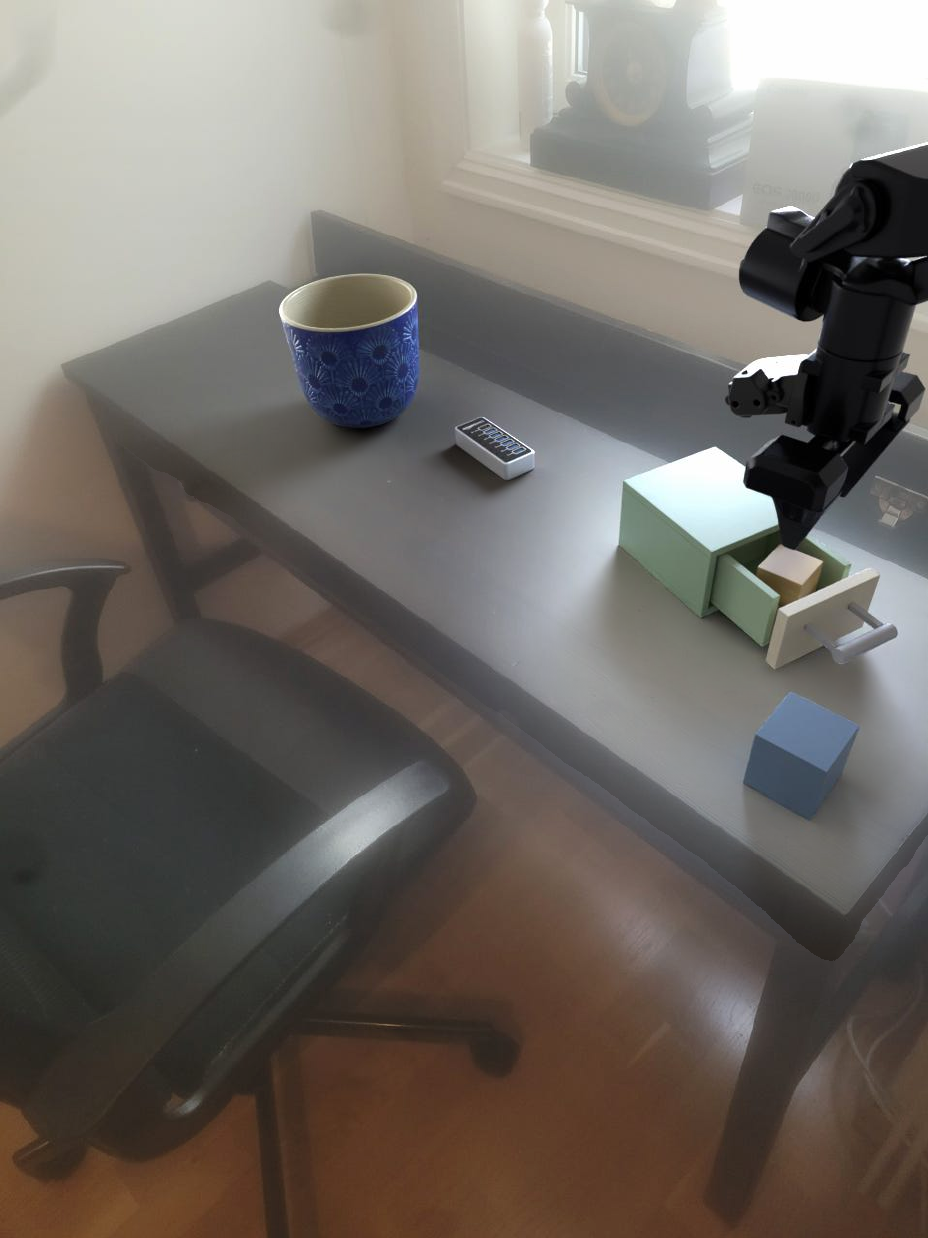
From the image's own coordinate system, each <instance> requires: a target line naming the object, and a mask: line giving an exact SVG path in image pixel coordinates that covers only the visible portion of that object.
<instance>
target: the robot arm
mask: <svg viewBox="0 0 928 1238" xmlns="http://www.w3.org/2000/svg"><path fill="white" fill-rule="evenodd" d="M911 258H916V259H913V260H911ZM738 283H739V287H740V289H741V291H742V293H743V294H744V295H746V297H748V298H751V299H753V300H755V301H757V302H758V303H761V304H763V305H766V306H767V307H770V308H772V309H773V310H775V311H778V312H780V313H783V314H785V315H786V316H789V317H790V318H793V319H795V320H798V321H800V322H803V323H808V322H813V321H816V320H818V319H819V318H822V320H821V327H820V330H819V336H818V339H817V344H816V348H815V350H814V351H812V352H811V353H809V354H795V355H783V356H782V355H781V356H772V357H770V356H769V357H763V358H760V359H757V360H755V361H752V362H751V363H749V364H748V365H747V366H746V367H744V368H743V369H742V370H740V371H739V372H738V373H736V374H735V375H734V376H733V377H732V378H731V382H729V383H728V384H727V388H728V393H727V395H725V398H724V402H725V404H726V405H727V406H729V408H730V409H729V410H730V412H731V413H732V414H734V415H735V416H736V417H740V418H742V419H750V418H751V417H753V416H765V415H766V416H767V415H783V414H785V418H784V424H787V425H788V426H789V425H790V426H792V427H796V428H801V427H802V426H803V427H806V431H807V432H808V433H810V434H811V435H813V437H812V438H811V439H810V440H809V441H808V442H807V441H804V440H800V439H797V438H794V437H791V436H788V435H784V434H780V435H778V436H776V437H774V438H772V439H770V440H768V441H767V442H766V443H765V444H764V445H762V446H761V447H760V448H759V449H758V450H756V451H755V453H753V454H752V456H750V457H749V458H748V459H747V460H746V461H745V472H744V478H743V483H744V485H745V487H746V488H748V489H750V490H753V491H756V492H759V493H761V494H764V495H767V496H770V497H771V498H772V499H773V502H774V505H775V509H776V513H777V519H778V524H779V529H780V535H781V540H782V545H783V546H784V547H786V548H788V549H791V550H796V549H797V548H798V547H799V545H800V544H801V543H802V542H803V540H804V539H805V538H806V537H807V535H808V534H811V531H812V530H814V528H815V527H816V526H817V524H818V523H819V522H820V521H821V519H822V518H823V517H824V516H825V514H826V513H827V512H828V511H829V510H830V509H831V507H832V506H833V504H835V503H836V501H837V500H838V498H846V497H847V496H848V495H849V494H850V493H851V491H852V490H853V489H854V488H855V486H856V485H857V484H858V483H859V482H860V480H861V479H862V478H863V477H864V476H865V475H866V474H867V473H868V471H869V470H870V469H871V468H872V467H873V465H874V464H875V463H876V462H877V461H878V460H879V458H880V457H881V456H882V455H883V453H885V451H886V450H887V449H888V448H889V447H890V445H891V444H892V443H893V442H894V441H895V440H896V438H898V436H899V435H900V434H901V432H902V431H904V429H905V428H906V427H907V426H908V424H909V423H910V421H911V418H912V417H913V416H914V415H915V414H917V412H918V411H919V410H920V408H921V404H922V402H923V398H924V395H925V392H926V387H925V385H924V384H923V383H922V381H921V379H920V377H919V376H918V375H917V374H913V373H910V372H906V371H904V370H906V368H907V366H908V362H909V360H910V355H911V354H910V353H907V352H904V348H905V345H906V341H907V338H908V334H909V331H910V328H911V324H912V321H913V317H914V314H915V310H916V307H917V305H920V304H923V303H926V302H928V142H925V143H921V144H916V145H913V146H909V147H905V148H901V149H898V150H894V151H890V152H885V153H883V154H877V155H875V156H871V157H867V158H864V159H860V160H857V161H855V162H853V163H851V164H850V166H849V168H848V169H846V171H845V172H844V173H842V176H841V178H840V179H839V181H838V183H837V185H836V186H835V191H834V195H833V197H831V198H830V199H829V201H828V202H827V203H826V204H825V205H824V206H823V208H822V209H820V211H819V212H818V213H817V214H816V215H815V216H814V217H813V216H811V215H808V214H807V213H806V212H804V211H803V210H802V209H799V208H797V207H794V206H792V205H791V206H790V205H789V206H787V207H783V208H780V209H775V210H772V211H770V212H769V213H768V216H767V223H766V227H765V228H764V229H763V230H762V231H761V232H760V233H759V234H758V235H756V237H755V238H754V240H753V241H752V242H751V244H750V245H749V247H748V249H747V250H746V252H745V254H744V258H743V259H742V260H741V261H740V263H739V267H738ZM895 404H896V405H900V406H899V410H898V412H896V411H895V409H896V405H895Z"/></svg>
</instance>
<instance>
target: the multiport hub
mask: <svg viewBox="0 0 928 1238" xmlns="http://www.w3.org/2000/svg"><path fill="white" fill-rule="evenodd" d="M454 434H455V445H456V446H457V447H459V448H460V449H461V450H463V451H464V452H466V453H467V454H468V455H470V456H471V457H473V458H474V459H475V460H477V461H478V462H480V463H481V464H482V465H483V466H485V467H486V468H488V469H489V470H490V471H492V472H493V473H495V474H496V475H497V476H498V477H500V478H501V479H503V480H504V481H509V480H510V481H511V480H512V479H514V478H516V477H519V476H521V475H523V474H526V473H527V472H530V471H532V470H534V469H535V451H534V449H532V448H530V446H528V445H526V443H525V444H524V442H521V441H520V440H518V439H517V438H516V437H514V436H512V435H511V434H510V433H509V432H507V431H505V430H504V429H502V428H501V427H499V426H498V425H496V424H495V423H494V422H492V421H490V420H489V419H487V418H485V417H484V416H479V417H476V418H474V419H472V420H469V421H467V422H464V423H462V424H460V425H457V426H455V427H454Z"/></svg>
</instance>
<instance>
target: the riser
mask: <svg viewBox="0 0 928 1238" xmlns="http://www.w3.org/2000/svg"><path fill="white" fill-rule="evenodd" d="M860 728H861V725H860V724H858V723H856V722H854V721H852V720H850V719H848V718H846V717H844V716H842V715H840V714H838V713H836V712H834V711H831V710H830V709H827V708H825V707H824V706H821V705H819V704H818V703H815V702H813V701H811V700H809V699H807V698H805V697H803V696H801V695H799V694H797V693H795V692H792V691H789V692H788V693H786V696H785V697H784V698H783V699H782V701H780V703H778V705H777V706H776V708H775V709H774V710H773V711H772V713H771V714H770V715H769V716H768V718H767V719H766V720H765V721H764V723H763V724H762V725H761V726H760V728H759V729H758V730H757V731H756V733H755V734H754V738H753V740H752V745H751V749H750V753H749V758H748V759H747V760H748V761H747V763H746V764H747V765H746V768H745V772H744V776H743V780H742V783H743V784H745V785H746V786H748V787H750V788H752V789H753V790H755V791H757V792H759V793H761V794H762V795H763V796H766V797H768V798H769V799H771V800H773V801H775V802H776V803H778V804H780V805H782V806H783V807H785V808H787V809H789V810H791V811H792V812H794V813H796V814H798V815H799V816H801V817H803V818H804V819H807V820H808V821H810V820H811V819H812V818H813V816H814V815H815V814H816V812H817V811H818V809H819V808H820V807H821V805H822V804H823V802H824V800H825V799H826V798H827V797H828V795H829V794H830V792H831V790H832V789H833V788H834V786H835V785H836V783H837V782H838V780H839V779H840V778H841V776H842V775H843V772H844V769H845V767H846V765H847V761H848V759H849V756H850V754H851V751H852V748H853V747H854V743H855V741H856V738H857V735H858V733H859V730H860Z"/></svg>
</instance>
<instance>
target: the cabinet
mask: <svg viewBox="0 0 928 1238" xmlns="http://www.w3.org/2000/svg"><path fill="white" fill-rule="evenodd" d="M745 467H746V465H745V466H744V465H743V464H742V463H740V462H738V461H737V460H736V459H734V458H733V457H731V456H730V455H728V453H726V452H724V451H723V450H721V449H720V448H718V447H717V446H713V447H710V448H707V449H704V450H701V451H699V452H696V453H694V454H692V455H688V456H685V457H683V458H680V459H677V460H675V461H672V462H669V463H666V464H664V465H661V466H659V467H655V468H653V469H650V470H647V471H644V472H642V473H640V474H636V475H635V476H632V477H629V478H626V479H624V480H622V493H621V503H620V504H621V505H620V519H619V532H618V545H619V546H620V547H621V548H622V549H623V550H624V551H625V552H626V553H627V554H628V555H630V556H631V557H632V558H633V559H634V560H635V561H636V562H637V563H638V564H640V565H641V566H642V567H643V568H644V569H645V570H646V571H647V572H649V573H650V574H651V575H652V576H653V577H654V578H655V579H656V580H657V581H659V582H660V583H661V584H662V586H664V588H667V590H668V591H669V592H670V593H672V594H673V596H675V597H676V598H677V599H678V600H680V602H682V603H683V604H684V605H685V606H686V607H687V608H688V609H690V610H691V611H692V612H693V613H694V614H695V615H696V616H697V617H698V618H700V619H702V618H704V617H707V616H709V615H711V614H713V613H715V612H718V611H720V610H719V609H718V608H717V607H716V606H715V605H713V604H712V603H711V602H710V601H709V600H710V594H711V588H712V582H713V577H714V571H715V565H716V559H717V556H718V555H721V554H723V553H726V552H728V551H730V550H733V549H735V548H738V547H740V546H742V545H745V544H747V543H749V542H752V541H754V540H757V539H759V538H761V537H764V536H766V535H769V534H771V533H773V532H776V531H778V530H780V529H779V524H778V519H777V513H776V509H775V505H774V502H773V499H772V498H771V497H770V496H767V495H764V494H761V493H759V492H756V491H753V490H750V489H748V488H746V487H745V485H744V483H743V478H744V472H745Z"/></svg>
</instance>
